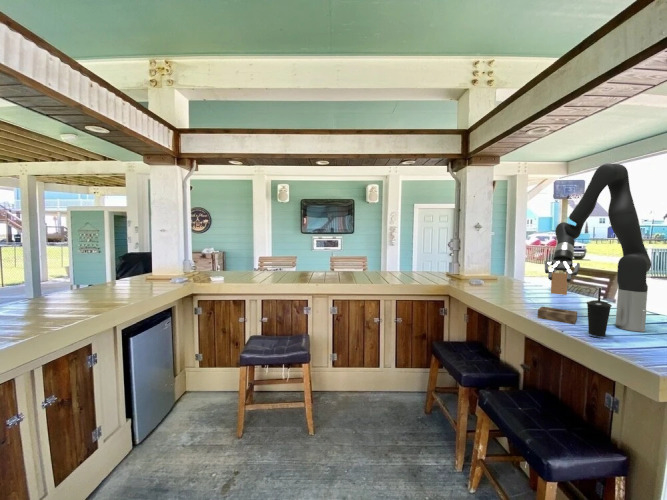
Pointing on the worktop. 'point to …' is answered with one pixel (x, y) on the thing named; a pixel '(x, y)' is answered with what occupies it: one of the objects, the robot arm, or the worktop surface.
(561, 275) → the cover plate
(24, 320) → the worktop surface
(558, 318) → the box
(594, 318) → the drinking cup
